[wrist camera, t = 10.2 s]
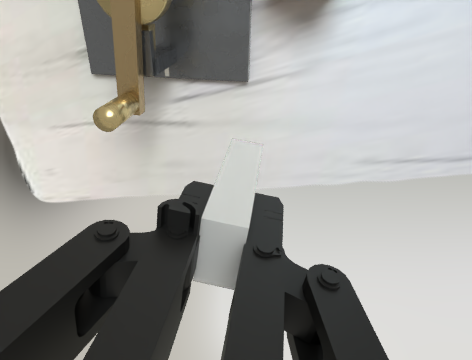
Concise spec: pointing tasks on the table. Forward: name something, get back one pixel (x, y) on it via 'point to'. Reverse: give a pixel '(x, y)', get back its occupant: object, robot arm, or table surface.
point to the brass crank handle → (128, 57)
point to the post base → (180, 40)
